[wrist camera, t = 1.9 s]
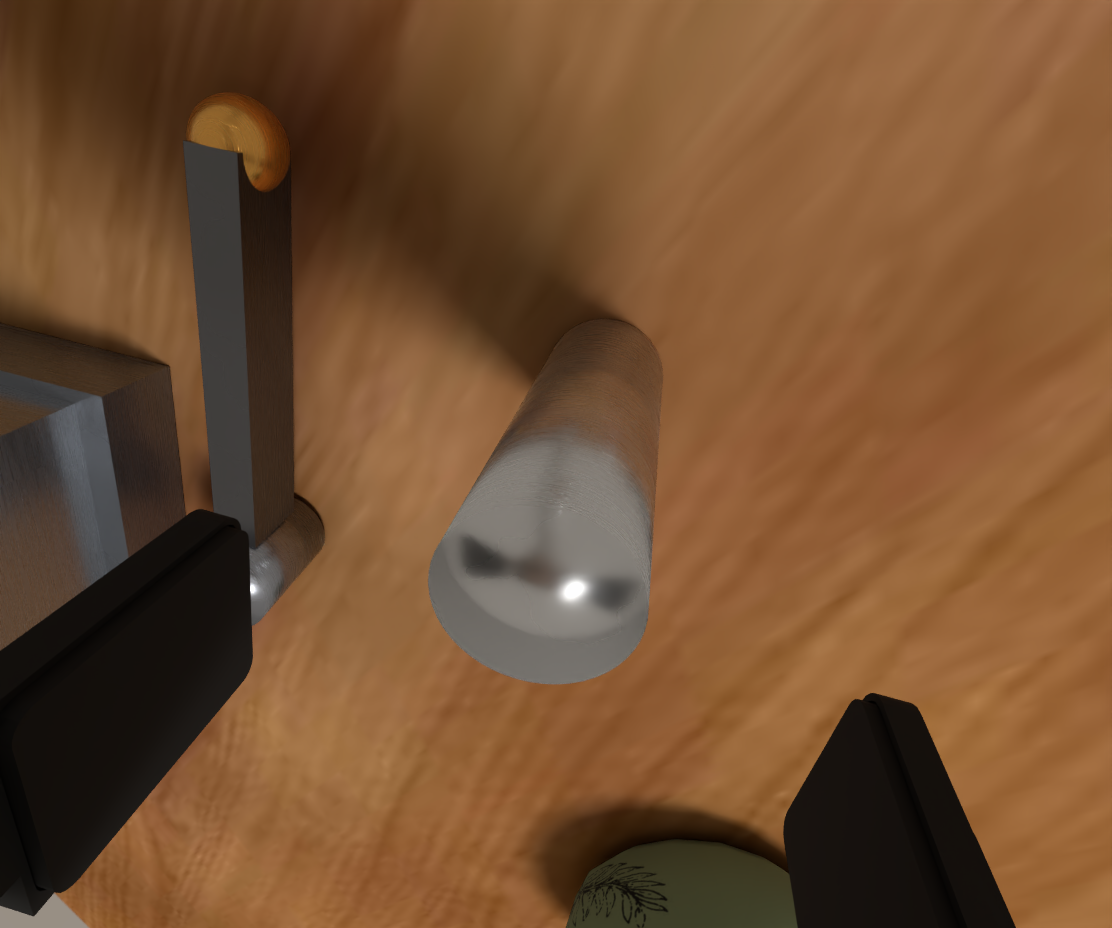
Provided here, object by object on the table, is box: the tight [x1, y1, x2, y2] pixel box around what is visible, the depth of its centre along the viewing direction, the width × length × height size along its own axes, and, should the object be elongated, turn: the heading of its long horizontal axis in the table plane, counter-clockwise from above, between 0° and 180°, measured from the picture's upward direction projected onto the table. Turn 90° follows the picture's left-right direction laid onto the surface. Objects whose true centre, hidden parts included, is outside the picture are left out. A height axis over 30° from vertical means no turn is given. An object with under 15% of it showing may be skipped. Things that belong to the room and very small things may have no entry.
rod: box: [428, 319, 663, 684], centre depth 15 cm, size 4×4×11 cm
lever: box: [183, 92, 325, 625], centre depth 20 cm, size 16×3×4 cm, turn 169°
